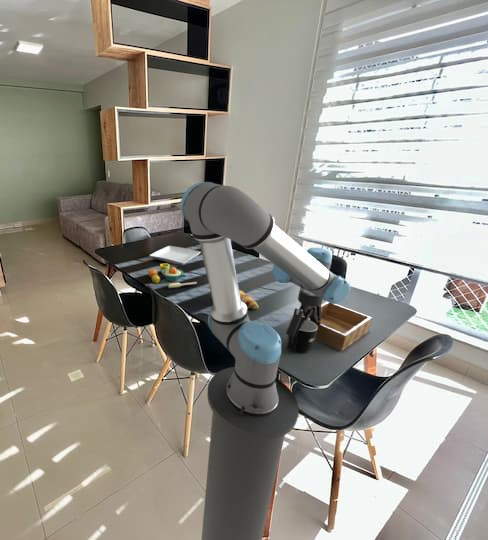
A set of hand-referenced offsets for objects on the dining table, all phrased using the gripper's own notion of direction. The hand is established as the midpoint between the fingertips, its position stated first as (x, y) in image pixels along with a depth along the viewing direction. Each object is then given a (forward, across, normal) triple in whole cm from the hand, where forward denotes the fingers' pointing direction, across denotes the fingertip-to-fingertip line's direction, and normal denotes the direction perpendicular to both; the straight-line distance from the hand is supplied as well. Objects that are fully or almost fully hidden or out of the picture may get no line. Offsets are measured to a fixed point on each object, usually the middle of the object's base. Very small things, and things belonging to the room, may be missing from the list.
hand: (300, 343), depth 108 cm
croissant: (+1, -7, -36) cm, 37 cm away
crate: (+1, -20, +2) cm, 20 cm away
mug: (+1, 0, 0) cm, 1 cm away
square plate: (+1, -24, -106) cm, 109 cm away
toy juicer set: (+1, +4, -77) cm, 77 cm away
